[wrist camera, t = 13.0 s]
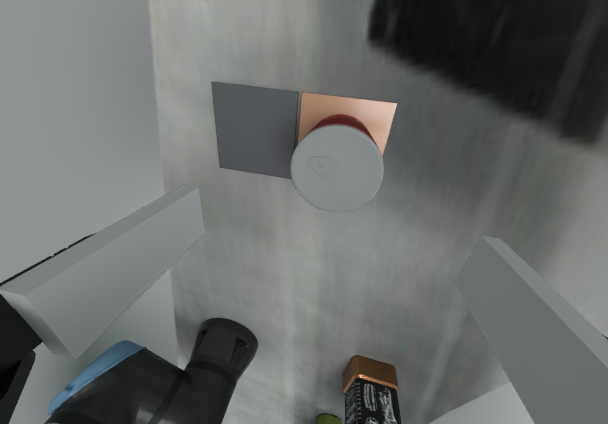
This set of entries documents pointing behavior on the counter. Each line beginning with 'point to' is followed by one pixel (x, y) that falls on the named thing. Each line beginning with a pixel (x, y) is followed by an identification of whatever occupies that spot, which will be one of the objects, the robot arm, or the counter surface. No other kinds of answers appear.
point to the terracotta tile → (366, 111)
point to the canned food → (337, 165)
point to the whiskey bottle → (370, 392)
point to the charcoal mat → (255, 128)
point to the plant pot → (328, 419)
